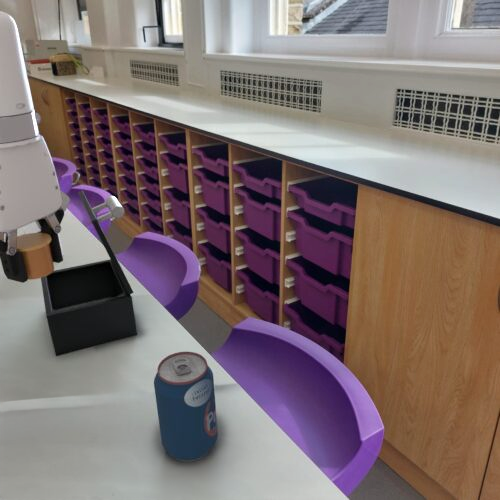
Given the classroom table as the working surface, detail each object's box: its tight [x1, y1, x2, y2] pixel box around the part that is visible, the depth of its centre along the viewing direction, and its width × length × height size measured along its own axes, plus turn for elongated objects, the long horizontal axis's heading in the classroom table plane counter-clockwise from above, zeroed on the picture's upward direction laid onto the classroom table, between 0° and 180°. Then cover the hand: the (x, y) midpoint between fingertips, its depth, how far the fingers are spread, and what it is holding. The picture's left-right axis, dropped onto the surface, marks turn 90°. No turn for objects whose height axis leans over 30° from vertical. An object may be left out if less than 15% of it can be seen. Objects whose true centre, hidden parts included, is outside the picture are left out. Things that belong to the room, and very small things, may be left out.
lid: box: [77, 190, 134, 295], centre depth 81 cm, size 14×16×5 cm
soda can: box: [153, 351, 219, 463], centre depth 59 cm, size 7×7×12 cm
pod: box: [17, 233, 55, 281], centre depth 63 cm, size 5×5×4 cm
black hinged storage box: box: [40, 258, 138, 357], centre depth 83 cm, size 13×16×9 cm
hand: (35, 268), depth 64 cm, fingers closed on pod, 5 cm apart
